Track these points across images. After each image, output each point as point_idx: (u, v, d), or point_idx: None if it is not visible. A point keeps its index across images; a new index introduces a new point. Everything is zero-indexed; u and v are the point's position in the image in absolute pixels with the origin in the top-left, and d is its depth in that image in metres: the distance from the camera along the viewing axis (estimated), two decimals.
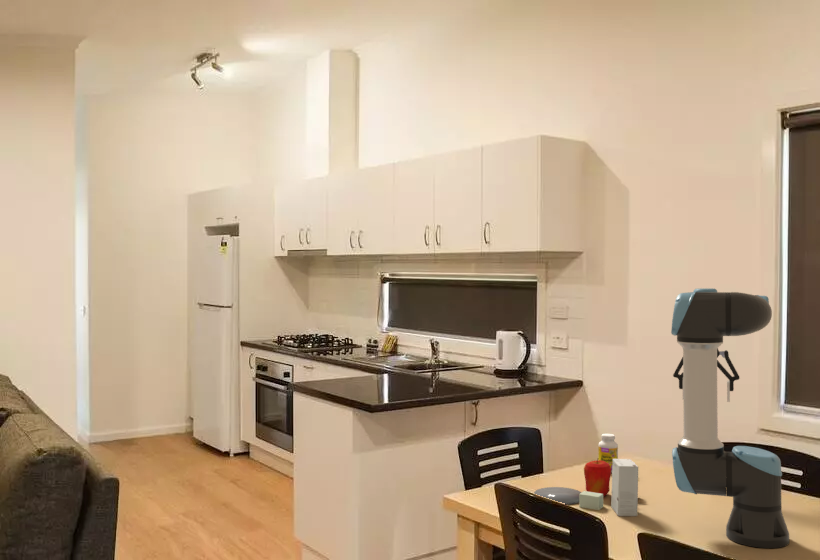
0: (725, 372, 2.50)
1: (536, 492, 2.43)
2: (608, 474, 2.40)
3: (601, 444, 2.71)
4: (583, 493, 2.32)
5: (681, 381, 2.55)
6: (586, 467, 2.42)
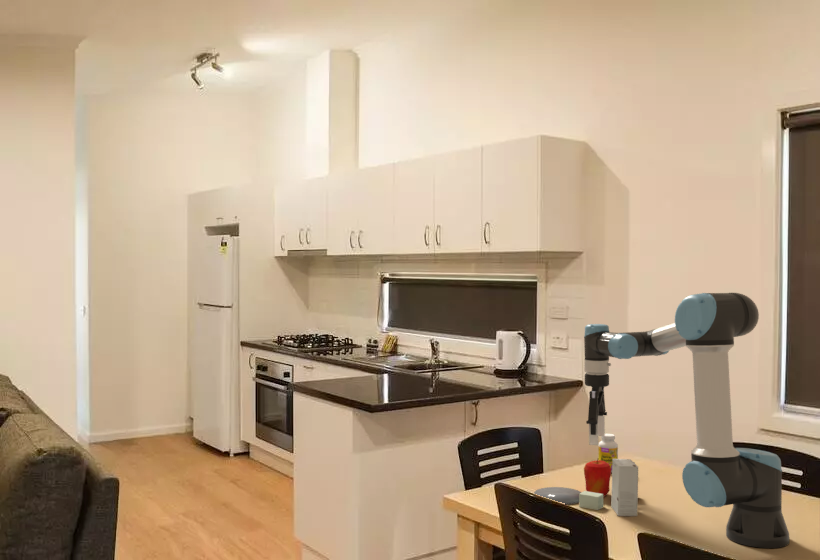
0: None
1: (536, 492, 2.43)
2: (608, 474, 2.40)
3: (601, 444, 2.71)
4: (583, 493, 2.32)
5: None
6: (586, 467, 2.42)
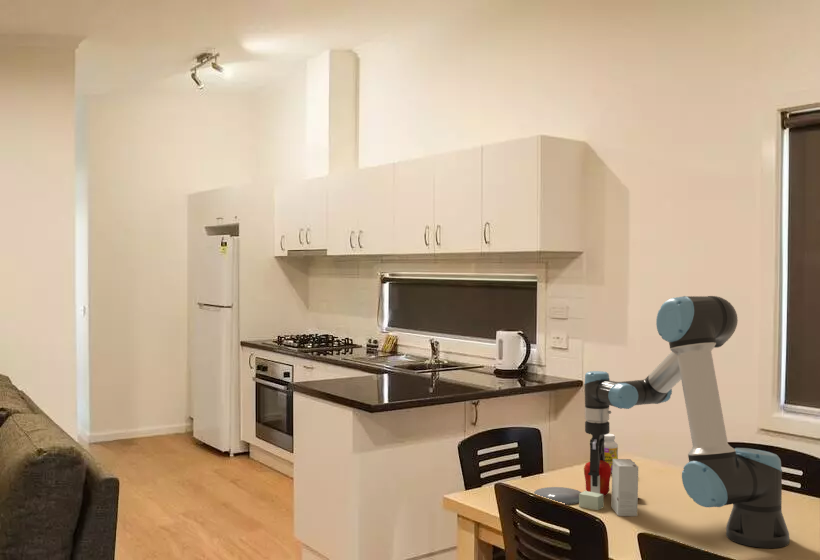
0: None
1: (536, 492, 2.43)
2: (608, 474, 2.41)
3: None
4: (583, 493, 2.32)
5: None
6: (586, 467, 2.42)
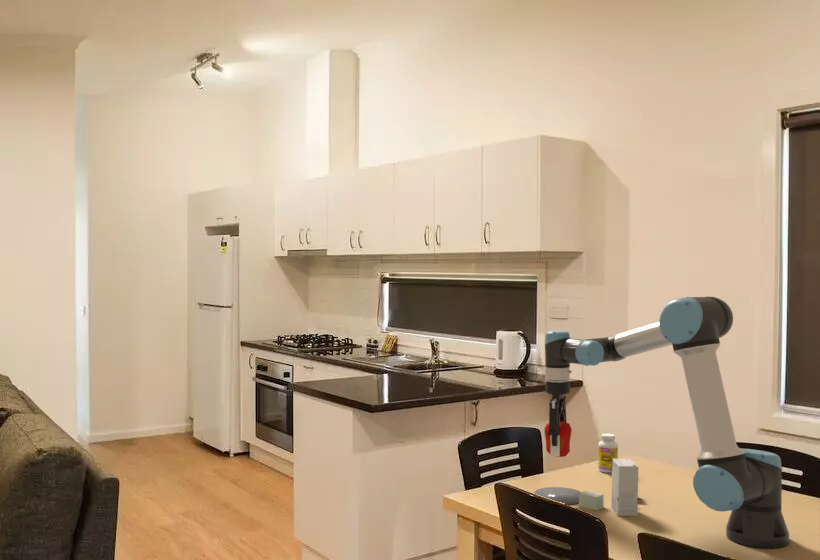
0: None
1: (536, 492, 2.43)
2: (568, 434, 2.38)
3: (601, 444, 2.71)
4: (583, 493, 2.32)
5: None
6: (546, 427, 2.40)
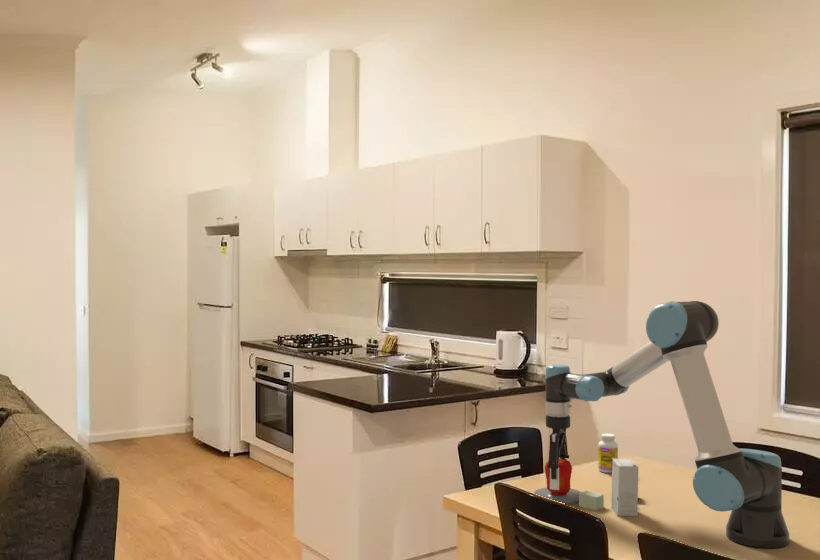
0: None
1: (536, 492, 2.43)
2: (568, 472, 2.38)
3: (601, 444, 2.71)
4: (583, 493, 2.32)
5: None
6: None
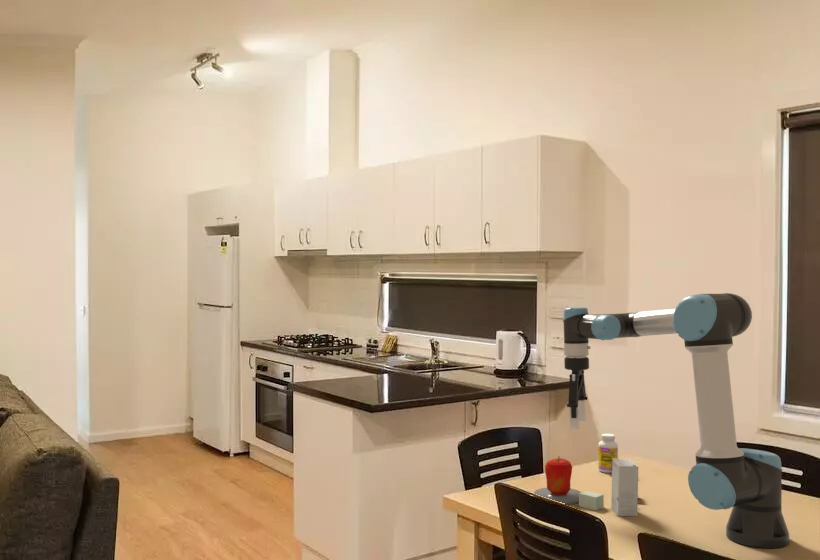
0: None
1: (536, 492, 2.43)
2: (569, 472, 2.38)
3: (601, 444, 2.71)
4: (583, 493, 2.32)
5: None
6: (547, 465, 2.40)
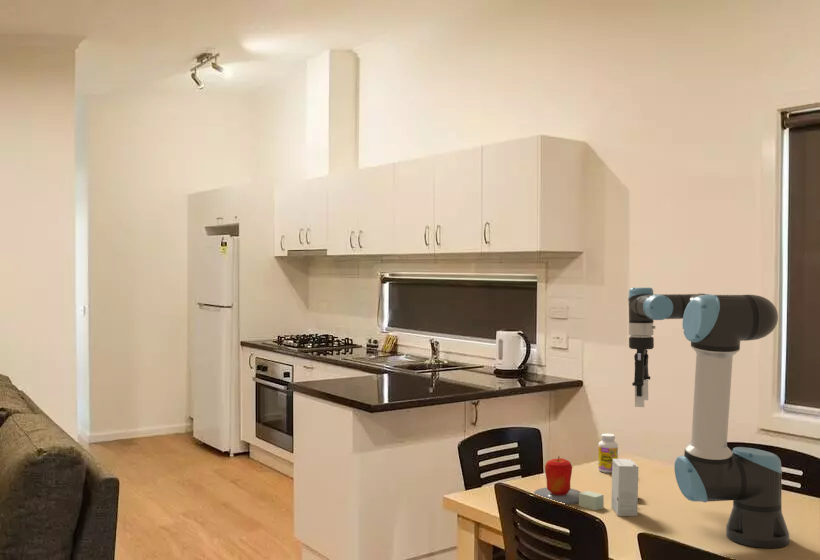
0: None
1: (536, 492, 2.43)
2: (569, 472, 2.38)
3: (601, 444, 2.71)
4: (583, 493, 2.32)
5: None
6: (547, 465, 2.40)
